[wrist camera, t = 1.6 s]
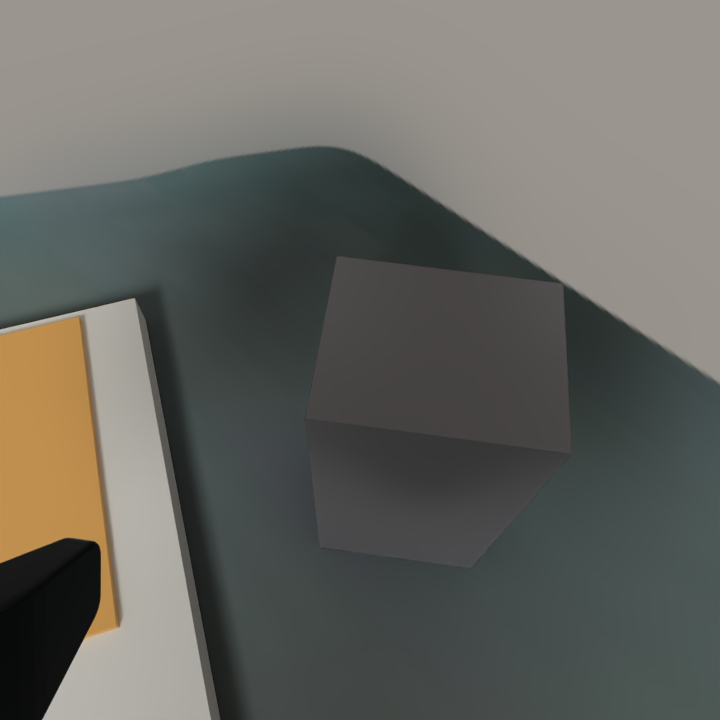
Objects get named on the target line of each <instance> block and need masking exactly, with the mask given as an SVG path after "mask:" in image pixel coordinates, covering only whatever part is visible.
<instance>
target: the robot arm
mask: <svg viewBox="0 0 720 720" xmlns="http://www.w3.org/2000/svg"><path fill="white" fill-rule="evenodd" d="M100 599H101V550H100V546H99V545H98V544H97V543H96V542H95V541H91V540H84V539H77V538H63V539H61V540H58V541H56V542H53V543H50V544H48V545H45V546H43V547H40V548H38V549H35V550H33V551H30V552H27V553H25V554H22V555H20V556H17V557H15V558H12V559H10V560H7V561H4V562H2V563H0V720H42V719H43V718H44V716H45V714H46V712H47V710H48V708H49V706H50V704H51V702H52V700H53V698H54V696H55V695H56V693H57V691H58V689H59V687H60V685H61V683H62V681H63V679H64V677H65V675H66V673H67V671H68V669H69V667H70V665H71V663H72V661H73V659H74V658H75V656H76V654H77V652H78V650H79V648H80V646H81V644H82V642H83V640H84V638H85V636H86V634H87V632H88V630H89V628H90V626H91V624H92V622H93V621H94V619H95V616H96V614H97V611H98V608H99V605H100Z"/></svg>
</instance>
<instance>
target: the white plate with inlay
mask: <svg viewBox="0 0 720 720" xmlns="http://www.w3.org/2000/svg"><path fill="white" fill-rule="evenodd" d="M63 538H77V539H84V540H91V541H95V542H96V543H97V544H98V545H99V546H100V550H101V599H100V605H99V608H98V611H97V614H96V616H95V619H94V621H93V622H92V624H91V626H90V628H89V630H88V632H87V634H86V636H85V638H84V640H83V642H82V644H81V646H80V648H79V650H78V652H77V654H76V656H75V658H74V659H73V661H72V663H71V665H70V667H69V669H68V671H67V673H66V675H65V677H64V679H63V681H62V683H61V685H60V687H59V689H58V691H57V693H56V695H55V696H54V698H53V700H52V702H51V704H50V706H49V708H48V710H47V712H46V714H45V716H44V718H43V719H42V720H220V715H219V710H218V704H217V699H216V694H215V688H214V683H213V678H212V672H211V667H210V662H209V656H208V651H207V645H206V640H205V635H204V629H203V624H202V619H201V613H200V608H199V603H198V597H197V592H196V587H195V581H194V576H193V571H192V565H191V560H190V555H189V549H188V544H187V539H186V533H185V528H184V523H183V517H182V512H181V507H180V501H179V496H178V491H177V485H176V480H175V475H174V469H173V464H172V459H171V453H170V448H169V443H168V437H167V432H166V426H165V421H164V416H163V410H162V405H161V400H160V394H159V389H158V384H157V378H156V373H155V368H154V362H153V357H152V352H151V346H150V341H149V336H148V330H147V325H146V320H145V318H144V316H143V314H142V312H141V310H140V308H139V306H138V304H137V302H136V300H135V298H133V299H129V300H124V301H120V302H116V303H111V304H107V305H103V306H99V307H94V308H90V309H86V310H82V311H77V312H73V313H69V314H65V315H60V316H56V317H52V318H48V319H43V320H39V321H35V322H30V323H26V324H22V325H18V326H13V327H9V328H5V329H1V330H0V563H2V562H4V561H7V560H10V559H12V558H15V557H17V556H20V555H22V554H25V553H27V552H30V551H33V550H35V549H38V548H40V547H43V546H45V545H48V544H50V543H53V542H56V541H58V540H61V539H63Z"/></svg>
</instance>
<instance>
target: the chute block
mask: <svg viewBox="0 0 720 720" xmlns="http://www.w3.org/2000/svg"><path fill="white" fill-rule="evenodd" d="M305 423H306V432H307V441H308V449H309V458H310V467H311V476H312V485H313V494H314V503H315V512H316V521H317V530H318V538H319V547H321V548H328V549H335V550H342V551H349V552H356V553H363V554H370V555H377V556H384V557H391V558H398V559H405V560H412V561H419V562H426V563H433V564H440V565H447V566H455V567H462V568H469V569H471V568H472V566H473V565H474V564H475V563H476V562H477V561H478V560H479V558H480V557H481V556H482V555H483V554H484V553H485V552H486V551H487V549H488V548H489V547H490V546H491V545H492V544H493V543H494V541H495V540H496V539H497V538H498V537H499V536H500V535H501V534H502V532H503V531H504V530H505V529H506V528H507V527H508V526H509V524H510V523H511V522H512V521H513V520H514V519H515V518H516V517H517V515H518V514H519V513H520V512H521V511H522V510H523V509H524V507H525V506H526V505H527V504H528V503H529V502H530V501H531V500H532V498H533V497H534V496H535V495H536V494H537V493H538V492H539V490H540V489H541V488H542V487H543V486H544V485H545V484H546V482H547V481H548V480H549V479H550V478H551V477H552V476H553V475H554V473H555V472H556V471H557V470H558V469H559V468H560V467H561V465H562V464H563V463H564V462H565V461H566V460H567V459H568V458H569V456H570V455H571V454H572V445H571V425H570V406H569V387H568V368H567V348H566V329H565V310H564V291H563V284H562V283H554V282H546V281H538V280H530V279H521V278H513V277H505V276H497V275H489V274H481V273H472V272H464V271H456V270H448V269H440V268H431V267H423V266H415V265H407V264H399V263H390V262H382V261H374V260H366V259H358V258H349V257H341V256H337V258H336V263H335V268H334V273H333V278H332V283H331V288H330V293H329V299H328V304H327V309H326V314H325V319H324V324H323V329H322V334H321V339H320V344H319V349H318V354H317V359H316V364H315V370H314V375H313V380H312V385H311V390H310V395H309V400H308V405H307V410H306V415H305Z"/></svg>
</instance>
